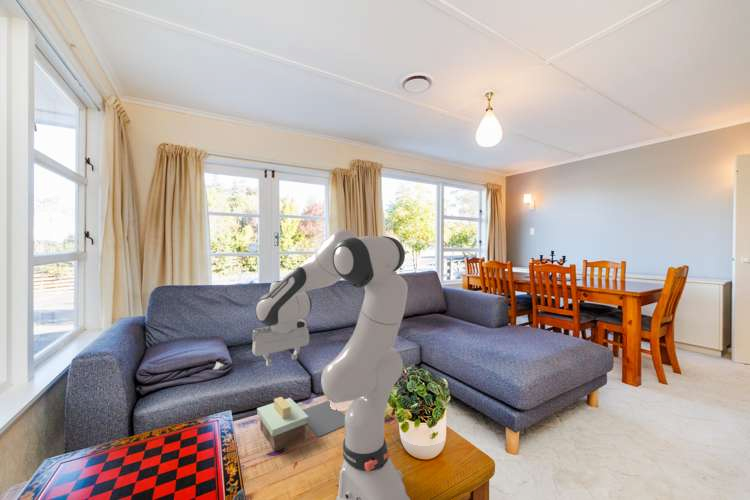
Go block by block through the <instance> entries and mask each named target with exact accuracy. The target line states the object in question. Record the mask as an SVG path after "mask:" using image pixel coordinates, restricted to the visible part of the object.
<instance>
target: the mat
mask: <svg viewBox="0 0 750 500" xmlns="http://www.w3.org/2000/svg"><path fill="white" fill-rule="evenodd" d="M330 403H331V401H330V400H325V401H323V402H320V403H318V404H314V405H312V406H310V407H307V408H304V409H302V410H303V411H304V412H305V413H306V415H307V416H308V423H306V424H305V425H306V426H307V427H308V428H309V429H310V430H311V431H312V432H313V434H315V435H316V437H317V438H320V437H323V436H325V435H327V434H330V433H332V432H334V430H335V431H337V430H339V429H341V428H343V427H344V428H345V414H346V413H344V412H343V411H341V410H340V411H338V410H337V409H336V410H333V409H331V407H330Z"/></svg>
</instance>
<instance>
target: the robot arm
mask: <svg viewBox="0 0 750 500" xmlns="http://www.w3.org/2000/svg"><path fill="white" fill-rule="evenodd" d="M405 254H406V252H405V249H404V246H403V244H402V243H401V242H400V241H399V240H397V239H396V238H394V237H391V236H385V235H384V236H373V235H364V236H358V235H357V234H356V233H355V232H354V231H351V230H349V229H344V228H343V229H337V230H336V231H335V232H334V233H332V234H331V235H330V236H328V237H327V238H326V239H325V240H324V242H323V243H322V244H320V246H319V247H318V249H316V250H315V252H314V253H313V254H312V255H311V256H310V257H308V259H306V260H305V261H304V262H303V263H302V264H300V265H298V266H297V267H295V268H294V269H293V270H291V271H290V272H289V273H287V275H286V276H285V277H284V278H283V279H282V280H275V281H273V282H271V284H270V287H269V292H268V293H265V294H264V295H262V296H261V297H260V298H259V300H258V301H257V302H256V305H255V315H256V318H257V320H258V321H259V322H260V323H262V325H265V326H264V327H258V328H256V329H255V330H253V332H252V334H251V340H252V347H251V349H252V350H251V351H252V354H253V355H254V356H256V357H260V356H262V357H263V358H264V359H265V364H266V367H270V366H272V365H273V361H272V359H270V358H269V356H270V354H275V353H279V352H282V351H287V350H292V349H294V351H293V353H291V360H292V361H293V360H297V359H298V354H299V352H300V350H301V347H305V346H308V345H309V343H310V332H309V329H308V322H307V321H306V320H305V318H307V317H308V316H309V315H310V314H311V312H312V308H313V307H312V306H313V302H312V301H313V300H312V298H311V296H310V295H309V293H307V292H309V291H312V290H318V289H321V288H322V289H323V288H327V287H330V286H333V285H334V284H335V283H337V282H339V281H340V280H341V279H342V280H344V281H347V282H349V283H350V284H351V285H352V286H353V287H354V288H358V289H359V288H360V289H361V288H364V298H363V302H362V305H361V307H360V310H359V315H358V319H357V322H356V325H355V329H354V330H353V333H352V334H351V336H350V338H349V340H348V341H347V343H346V344H345V345H344V347H343V349H342V350H341V351H340V352H339V354H337V356H336V357H335V358H333V359H332V361H331V362H329V363H328V364H326V366H324V368H323V370H322V373H321V379H320V384H321V389H322V392H323V394H324V395H325V397H326V398H327V399H328V401H329V402H331V403H334V404H339V403H345V402H351V403H350V404H349V405H348V407H347V409H346V411H345V413H344V414H345V426H344V438H343V442H342V457H343V462H342V464H341V468H340V472H339V479H338V480H339V481H338V491H337V497H336V498H335V500H411V498H410V497H409V496H408V494H407V491H406V487H405V484H404V482H403V473H402V471H401V470H400V469H397V470H396V468H395V465H394V464H393V461H392V459H391V458H390V456H391V451H388V445H387V442H386V439H385V421H386V420H385V417H386V416H385V415H386V410H387V406H388V402H389V399H390V397H391V393H392V391H393V388H394V386H395V384H396V383H397V381H398V379H400V377H401V376H402V374H403V371H404V363H403V359H402V356H401V354H400V352H399V351H398V350H397V349H396V348H394V347H393V346H394V345H395V342H396V340H397V336H398V333H399V330H400V327H401V324H402V320H403V318H404V315H405V310H406V305H407V299H408V292H409V291H408V289H409V287H408V283H407V281H406V279H405V278H403V277H402V276H401V275H399V274H397V273H396V271H397V270H399V269H400V268H401V267H402V266H403V265H404V262H405V258H406V255H405Z"/></svg>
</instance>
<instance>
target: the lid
mask: <svg viewBox="0 0 750 500" xmlns="http://www.w3.org/2000/svg"><path fill="white" fill-rule="evenodd" d="M256 410H257V411H256V412H257V417H259V419H261V420H262V422H263V423H264V425H265V426H266V428H267V429H268V431H269V432H270V434H271V435H272V437H273V436H276V435H278V434H281V433H283V432H286V431H288V430H291V429H293V428H296V427H298V426H301V425H304V424H305V425H307V424H306V423H308V416H307V415H306V413H305V412H304V411H303V409H302V408H301V407H300V406H299V405H298V404H297V403H296V402H295V401H294V400H293V399H292V397H288V398H284V397H282V396H279V397H276V398H274V399H273V402H271V403H270V404H266V405H263V406H261V407H260V406H259V407H257V408H256Z"/></svg>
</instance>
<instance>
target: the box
mask: <svg viewBox="0 0 750 500" xmlns="http://www.w3.org/2000/svg"><path fill="white" fill-rule="evenodd" d="M259 419H260V418H259ZM259 422H260V431H261V433H262V434H263V436H264V437H265V439H266V441H267V442H268V444H269V445H270V447H271V448H272V450H273V451H274V452H276V451H279V450H281V449H283V448H286V447H288V446H291V445H293V444H295V443H298V442H300V441H302V440H305V439H306V424H304V425H301V426H298V427H296V428H293V429H291V430H288V431H286V432H283V433H281V434H278V435H276V436H273V437H272V435H271V434H270V432H269V431H268V429H267V428H266V426H265V425H264V423H263V422H262V420H261V419H260V421H259Z"/></svg>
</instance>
